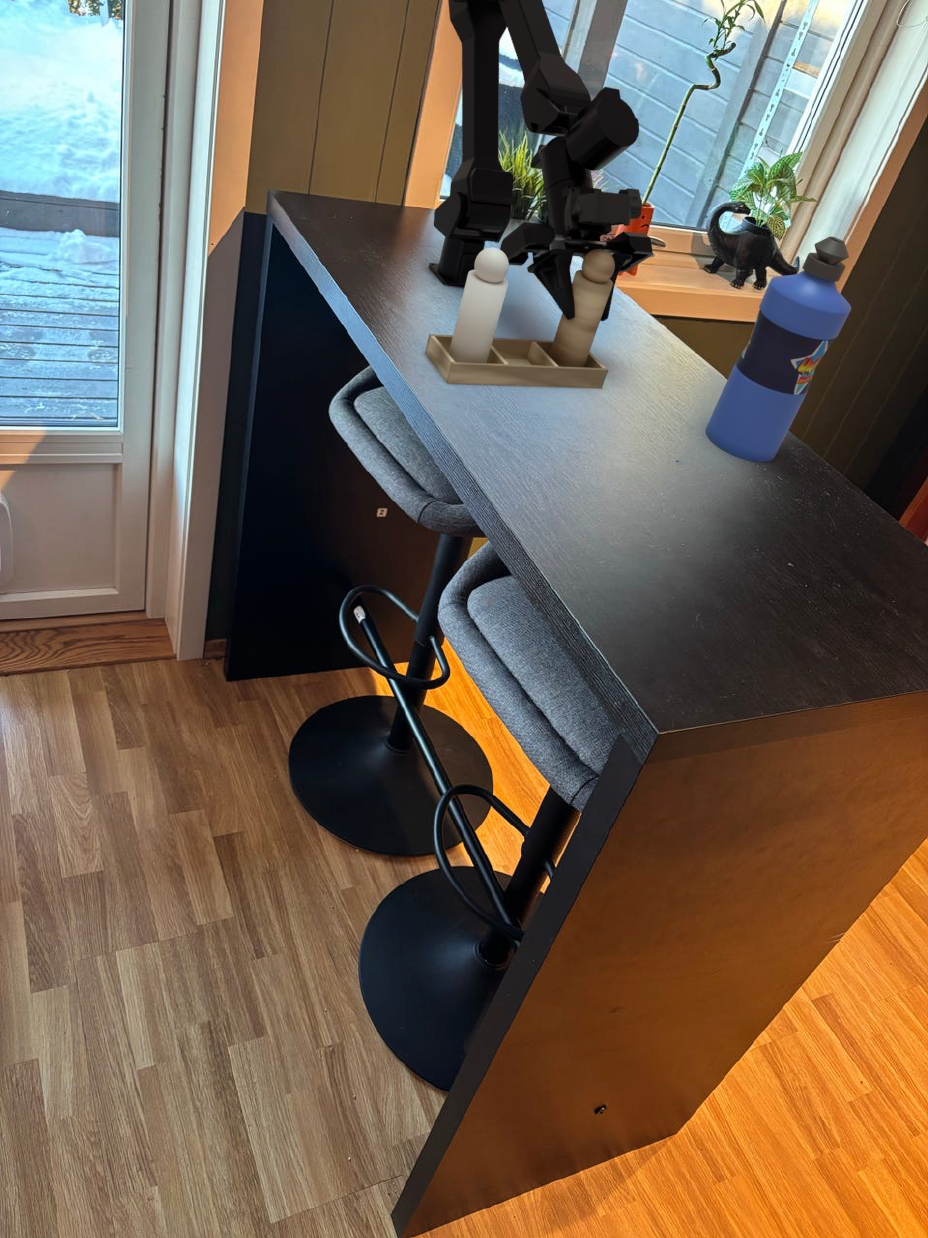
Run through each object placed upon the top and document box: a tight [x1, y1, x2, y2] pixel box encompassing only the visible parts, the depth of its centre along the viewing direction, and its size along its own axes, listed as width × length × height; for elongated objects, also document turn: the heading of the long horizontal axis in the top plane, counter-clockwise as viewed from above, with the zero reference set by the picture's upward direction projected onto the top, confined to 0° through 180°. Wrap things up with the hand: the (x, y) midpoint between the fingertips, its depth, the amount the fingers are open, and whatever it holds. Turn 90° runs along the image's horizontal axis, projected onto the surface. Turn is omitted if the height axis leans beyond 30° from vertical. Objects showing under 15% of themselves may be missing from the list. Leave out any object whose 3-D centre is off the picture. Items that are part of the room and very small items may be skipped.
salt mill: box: [449, 247, 510, 363], centre depth 108 cm, size 5×5×14 cm
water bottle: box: [705, 236, 852, 463], centre depth 110 cm, size 9×9×25 cm
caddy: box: [424, 333, 609, 389], centre depth 115 cm, size 7×21×3 cm, turn 113°
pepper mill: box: [549, 249, 615, 367], centre depth 114 cm, size 5×5×14 cm
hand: (587, 319), depth 113 cm, fingers closed on pepper mill, 4 cm apart
